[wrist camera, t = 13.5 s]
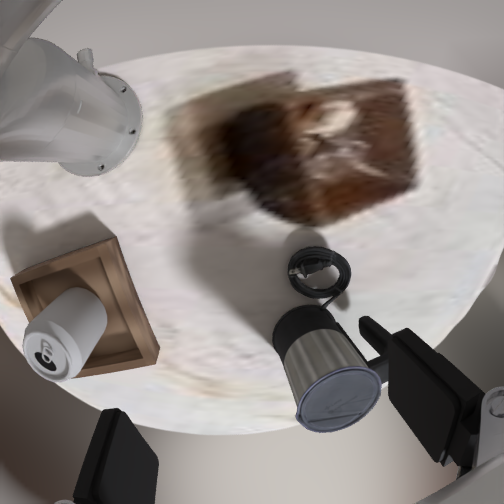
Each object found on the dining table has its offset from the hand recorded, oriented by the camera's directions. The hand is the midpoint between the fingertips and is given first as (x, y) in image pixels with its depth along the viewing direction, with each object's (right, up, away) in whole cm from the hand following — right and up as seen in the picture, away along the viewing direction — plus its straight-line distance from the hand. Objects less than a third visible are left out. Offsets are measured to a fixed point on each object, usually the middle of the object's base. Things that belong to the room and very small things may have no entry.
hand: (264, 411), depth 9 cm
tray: (-22, -3, +27) cm, 35 cm away
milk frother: (+7, -2, +31) cm, 32 cm away
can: (-22, -3, +26) cm, 35 cm away
